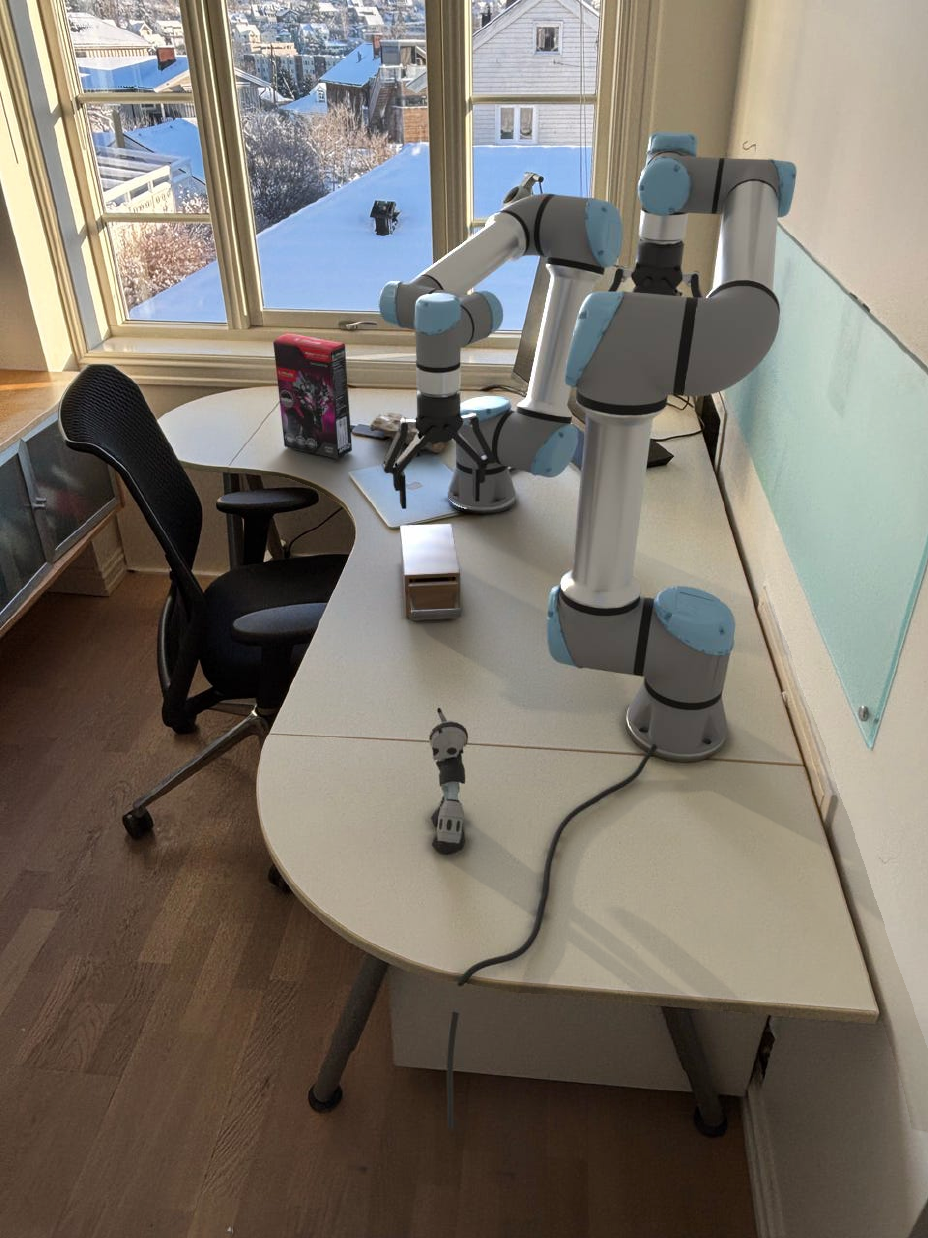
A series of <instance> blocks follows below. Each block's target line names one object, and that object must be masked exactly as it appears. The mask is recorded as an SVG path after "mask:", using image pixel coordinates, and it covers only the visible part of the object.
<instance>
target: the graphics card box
mask: <svg viewBox="0 0 928 1238" xmlns="http://www.w3.org/2000/svg"><path fill="white" fill-rule="evenodd" d="M272 344H273V345H272V346H273V349H274V350H273V353H274V361H275V362H274V363H275V371H276V380H277V381H276V382H277V390H278V398H279V399H278V400H279V408H280V417H281V418H280V419H281V428H282V435H283V436H282V437H283V446H284V447H285V448H289V449H294V450H298V451H302V452H306V453H311V454H315V455H319V456H323V457H328V458H333V459H336V460H338V459H339V460H340V458H342V457H344V456H346V455H347V454H349V453H350V452H352V451H353V446H352V429H351V415H350V402H349V401H350V400H349V385H348V370H347V356H346V343H345V342H339V341H338V342H337V341H333V340H327V339H321V338H317V337H311V336H305V335H300V334H295V333H289V332H288V333H285V334H282V335H280V336H279V337H277V338H276V339H274V340H273V342H272Z"/></svg>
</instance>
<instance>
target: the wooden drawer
mask: <svg viewBox="0 0 928 1238" xmlns="http://www.w3.org/2000/svg"><path fill="white" fill-rule="evenodd" d="M408 591H409V617H408V619H409V621H419V620H420V621H422V620H440V619H441V620H442V619H458V618H461V617H462V611H461V607H460V608H458V582H457V581H453V577H440V578H417V579H410V583H408Z"/></svg>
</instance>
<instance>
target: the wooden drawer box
mask: <svg viewBox="0 0 928 1238" xmlns="http://www.w3.org/2000/svg"><path fill="white" fill-rule="evenodd" d="M399 529H400V530H399V532H400V556H401V557H400V558H401V560H400V561H401V573H402V574H401V577H402V589H403V600H404V613H405V618H409V591H408V583H410V579H417V578H440V577H453V581H457V582H458V608H460V609H461V571H460V564H459V559H458V553H457V548H456V543H455V538H454V537H455V536H454V531H453V526H452V523H440V524H438V523H437V524H414V525H411V524H410V525H400V527H399Z"/></svg>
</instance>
